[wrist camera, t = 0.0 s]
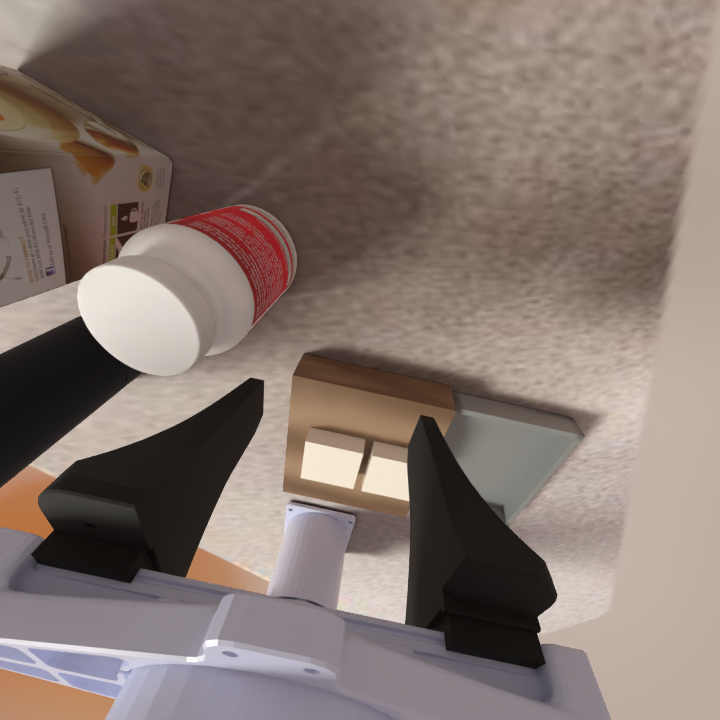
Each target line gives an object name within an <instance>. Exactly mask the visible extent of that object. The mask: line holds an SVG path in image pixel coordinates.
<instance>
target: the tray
mask: <svg viewBox="0 0 720 720" xmlns="http://www.w3.org/2000/svg"><path fill="white" fill-rule="evenodd" d="M452 394H453V398H454V402H455V407H456V413H455V415H454V417H453V419H452V421H451V423H450V425H449V427H448V430H447V432H446V434H445V436H444V439H445V441H446V442H447V444H448V446H449V448H450V450H451V451H452V453H453V455H454V457H455V459H456V460H457V462H458V464H459V465H460V467H461V468H462V470H463V471H464V473H465V475H466V476H467V478H468V479H469V481H470V482H471V483H472V485H473V486H474V487H475V489H476V490H477V491H478V493H479V494H480V495H481V497H482V498H483V499H484V500H485V502H486V503H487V504H488V505H489V506H490V507H491V509H492V510H493V511H494V512H495V513H496V514H497V515H498V517H499V518H500V519H501V520H502V521H503V522H504V523H505V524H506V525H507V526H508V527H509V526H510V525H511V524H512V522H513V521H514V520H515V519H516V518H517V517H518V515H519V514H520V513H521V512H522V511H523V509H524V508H525V507H526V506H527V505H528V503H529V502H530V501H531V500H532V499H533V497H534V496H535V495H536V494H537V493H538V491H539V490H540V489H541V488H542V487H543V485H544V484H545V483H546V482H547V481H548V479H549V478H550V477H551V476H552V475H553V473H554V472H555V471H556V470H557V469H558V467H559V466H560V465H561V464H562V463H563V461H564V460H565V459H566V458H567V457H568V456H569V454H570V453H571V452H572V451H573V450H574V448H575V447H576V446H577V445H578V444H579V442H580V441H581V440H582V439H583V438H584V436H585V435H584V434H583V433H582V431H581V430H580V428H579V427H578V425H577V424H576V422H575V421H574V419H573V418H571V417H567V416H562V415H558V414H553V413H548V412H544V411H539V410H535V409H530V408H526V407H521V406H516V405H512V404H507V403H503V402H498V401H494V400H489V399H484V398H480V397H475V396H471V395H466V394H462V393H457V392H452Z"/></svg>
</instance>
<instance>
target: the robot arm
mask: <svg viewBox="0 0 720 720" xmlns="http://www.w3.org/2000/svg"><path fill="white" fill-rule="evenodd" d="M263 401H264V380H259V379H255V378H249V379H248V380H246V381H245V382H244V383H242V384H241V385H239V386H238V387H237V388H235V389H234V390H232V391H231V392H230V393H228V394H227V395H225V396H224V397H222V398H221V399H219V400H218V401H216V402H215V403H213V404H212V405H210V406H209V407H207V408H205V409H204V410H202V411H201V412H199V413H197V414H196V415H194V416H192V417H190V418H189V419H187V420H185V421H183V422H181V423H179V424H177V425H175V426H173V427H171V428H169V429H167V430H164V431H162V432H160V433H157V434H155V435H153V436H151V437H148V438H146V439H143V440H141V441H138V442H135V443H133V444H130V445H127V446H124V447H121V448H119V449H116V450H112V451H109V452H106V453H103V454H99V455H96V456H92V457H89V458H86V459H82V460H78V461H76V462H75V463H73V464H72V465H71V466H70V467H69V468H68V469H66V470H65V471H64V472H63V473H62V474H61V475H60V476H59V477H58V478H57V479H56V480H55V481H54V482H52V483H51V484H50V485H49V486H48V487H47V488H46V489H45V490H44V491H43V492H42V493H41V494H40V495H39V497H38V504H39V507H40V509H41V511H42V512H43V514H44V515H45V517H46V518H47V520H48V521H49V523H50V524H51V526H52V527H53V529H54V531H53V532H52V533H51V534H50V535H49V536H48V537H47V538H46V539H44V538H42V537H40V536H38V535H35V534H32V533H27V532H22V531H18V530H13V529H8V528H0V668H1V669H5V670H9V671H13V672H17V673H21V674H25V675H28V676H32V677H36V678H40V679H43V680H47V681H51V682H55V683H59V684H62V685H66V686H70V687H73V688H77V689H81V690H84V691H88V692H92V693H95V694H100V695H103V696H106V697H111V698H114V699H116V700H115V702H114V704H113V706H112V707H111V709H110V711H109V713H108V715H107V717H106V719H105V720H611V718H610V715H609V713H608V710H607V707H606V705H605V702H604V700H603V697H602V694H601V692H600V689H599V686H598V684H597V681H596V679H595V676H594V673H593V670H592V668H591V665H590V662H589V660H588V657H587V655H586V653H585V652H584V651H582V650H578V649H573V648H569V647H564V646H559V645H555V644H542V645H540V642H539V638H538V635H537V633H539V632H540V631H541V628H540V624H539V621H538V618H537V617H538V616H539V615H540V614H542V613H543V612H544V611H546V610H547V609H548V608H550V607H551V606H552V605H553V604H554V603H555V601H556V599H557V592H556V590H555V587H554V584H553V581H552V578H551V575H550V573H549V570H548V568H547V566H546V563H545V561H544V560H543V559H542V558H541V557H540V556H538V555H537V554H536V553H535V552H534V551H533V550H532V549H531V548H530V547H528V546H527V545H526V544H525V543H524V542H523V541H522V540H521V539H520V538H519V537H518V536H517V535H516V534H515V533H514V532H513V531H512V530H511V529H510V528H509V527H508V526H507V525H506V524H505V523H504V522H503V521H502V520H501V519H500V518H499V517H498V515H497V514H496V513H495V512H494V511H493V510H492V509H491V507H490V506H489V505H488V504H487V503H486V502H485V500H484V499H483V498H482V497H481V495H480V494H479V493H478V491H477V490H476V489H475V487H474V486H473V485H472V483H471V482H470V481H469V479H468V478H467V476H466V475H465V473H464V471H463V470H462V468H461V467H460V465H459V464H458V462H457V460H456V459H455V457H454V455H453V453H452V451H451V450H450V448H449V446H448V444H447V442H446V441H445V439H444V437H443V435H442V433H441V431H440V429H439V427H438V425H437V423H436V421H435V419H434V418H433V417H429V416H424V415H420V417H419V420H418V422H417V425H416V427H415V430H414V432H413V435H412V437H411V440H410V442H409V445H408V456H407V474H408V489H409V503H410V522H411V527H410V557H409V577H408V593H407V607H406V620H405V624H401V623H396V622H391V621H387V620H382V619H377V618H373V617H368V616H363V615H358V614H354V613H349V612H344V611H340V610H337V604H338V597H339V590H340V583H341V576H342V569H343V562H344V555H345V552H346V548H347V545H348V542H349V539H350V536H351V533H352V530H353V527H354V524H355V521H356V517H355V516H354V515H351V514H346V513H342V512H337V511H332V510H328V509H323V508H318V507H314V506H309V505H304V504H300V503H295V502H288V504H287V509H286V518H285V528H284V538H283V542H282V545H281V548H280V552H279V555H278V558H277V561H276V564H275V568H274V571H273V574H272V577H271V580H270V584H269V587H268V590H267V593H266V595H264V594H259V593H254V592H250V591H245V590H240V589H235V588H231V587H226V586H221V585H217V584H212V583H207V582H203V581H198V580H193V579H189V578H185V577H186V575H187V573H188V570H189V567H190V565H191V562H192V560H193V557H194V555H195V552H196V550H197V548H198V545H199V543H200V540H201V538H202V536H203V533H204V531H205V528H206V526H207V524H208V522H209V519H210V517H211V515H212V513H213V510H214V508H215V506H216V504H217V501H218V499H219V497H220V495H221V493H222V491H223V488H224V486H225V484H226V482H227V480H228V479H229V477H230V475H231V473H232V471H233V470H234V468H235V466H236V465H237V463H238V461H239V460H240V458H241V456H242V455H243V453H244V451H245V449H246V448H247V446H248V444H249V443H250V441H251V439H252V437H253V436H254V434H255V432H256V430H257V427H258V425H259V423H260V420H261V418H262V416H263Z"/></svg>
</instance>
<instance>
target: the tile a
mask: <svg viewBox="0 0 720 720" xmlns="http://www.w3.org/2000/svg"><path fill="white" fill-rule="evenodd" d="M364 446H365V439H362V438H358V437H353V436H348V435H344V434H339V433H335V432H330V431H325V430H321V429H316V428H312V427H310V429H309V432H308V435H307V438H306V441H305V448H304V455H303V463H302V471H301V478H303V479H308V480H313V481H317V482H322V483H327V484H331V485H336V486H340V487H345V488H350V489H353V488H354V485H355V481H356V478H357V474H358V471H359V468H360V464H361V461H362V457H363V453H364Z"/></svg>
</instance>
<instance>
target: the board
mask: <svg viewBox="0 0 720 720" xmlns="http://www.w3.org/2000/svg"><path fill="white" fill-rule="evenodd" d="M455 413H456V407H455V402H454V398H453V394H452V389H451V386H449V385H445V384H440V383H435V382H431V381H426V380H422V379H417V378H413V377H408V376H403V375H399V374H394V373H390V372H385V371H381V370H376V369H372V368H367V367H362V366H358V365H353V364H349V363H344V362H340V361H335V360H330V359H326V358H321V357H317V356H312V355H308V354H303V356H302V358H301V360H300V362H299V364H298V366H297V368H296V370H295V372H294V374H293V378H292V390H291V401H290V413H289V425H288V436H287V448H286V460H285V472H284V483H283V491H284V492H289V493H293V494H298V495H303V496H307V497H312V498H316V499H321V500H326V501H330V502H335V503H340V504H344V505H349V506H354V507H358V508H363V509H368V510H372V511H377V512H382V513H386V514H391V515H396V516H400V517H406V515H407V513H408V511H409V508H410V503H409V501H405V500H401V499H396V498H392V497H387V496H382V495H378V494H373V493H368V492H364V491H361V490H362V482H363V475H364V472H365V468H366V465H367V462H368V459H369V455H370V452H371V449H372V446H373V442H374V441H376V442H381V443H385V444H390V445H394V446H399V447H404V448H408V445H409V442H410V440H411V437H412V435H413V432H414V430H415V427H416V425H417V422H418V420H419V417H420V415H424V416H429V417H433V418H434V419H435V421H436V423H437V425H438V427H439V429H440V431H441V433H442V435H443V437H444V436H445V434H446V432H447V430H448V427H449V425H450V423H451V421H452V419H453V417H454V415H455ZM310 427H312V428H316V429H321V430H325V431H330V432H335V433H339V434H344V435H348V436H353V437H358V438H362V439H365V446H364V453H363V457H362V461H361V464H360V468H359V471H358V474H357V478H356V481H355V485H354V488H353V489H350V488H345V487H340V486H336V485H331V484H327V483H322V482H317V481H313V480H308V479H303V478H301V471H302V463H303V455H304V448H305V441H306V438H307V435H308V432H309V429H310Z"/></svg>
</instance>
